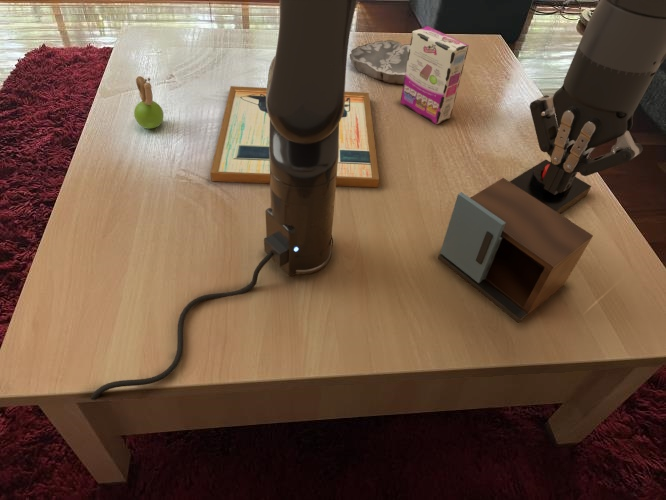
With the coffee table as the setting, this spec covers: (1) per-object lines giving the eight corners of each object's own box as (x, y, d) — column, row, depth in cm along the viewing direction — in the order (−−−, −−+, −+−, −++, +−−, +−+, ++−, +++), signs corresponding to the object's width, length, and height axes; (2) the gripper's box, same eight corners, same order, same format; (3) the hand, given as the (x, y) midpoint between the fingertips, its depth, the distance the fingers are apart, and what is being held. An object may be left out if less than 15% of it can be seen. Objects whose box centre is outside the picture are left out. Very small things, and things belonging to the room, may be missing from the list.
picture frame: (368, 92, 116) (379, 179, 95) (367, 100, 117) (377, 187, 96) (230, 86, 114) (210, 172, 93) (231, 93, 115) (211, 181, 95)
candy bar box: (451, 118, 114) (470, 44, 102) (436, 125, 112) (454, 51, 100) (413, 96, 120) (427, 24, 108) (398, 102, 117) (411, 30, 105)
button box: (550, 221, 93) (558, 204, 90) (504, 191, 98) (511, 174, 95) (586, 195, 98) (595, 178, 96) (542, 168, 103) (549, 151, 101)
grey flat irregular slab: (439, 63, 131) (441, 52, 129) (419, 94, 120) (421, 82, 118) (366, 45, 136) (367, 33, 134) (340, 73, 125) (341, 61, 123)
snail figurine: (145, 139, 102) (132, 82, 93) (133, 123, 105) (119, 67, 97) (172, 131, 104) (161, 75, 96) (158, 116, 108) (147, 60, 99)
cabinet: (518, 322, 77) (544, 273, 69) (437, 258, 85) (453, 207, 77) (564, 284, 83) (593, 235, 75) (484, 227, 91) (503, 177, 83)
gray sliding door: (477, 284, 80) (501, 225, 71) (438, 253, 84) (456, 194, 75) (481, 281, 81) (506, 222, 72) (443, 250, 85) (461, 191, 76)
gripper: (540, 33, 52) (490, 172, 64) (668, 91, 45) (584, 234, 58) (581, 16, 55) (526, 151, 68) (705, 68, 49) (619, 207, 61)
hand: (553, 189), depth 63 cm, fingers closed
